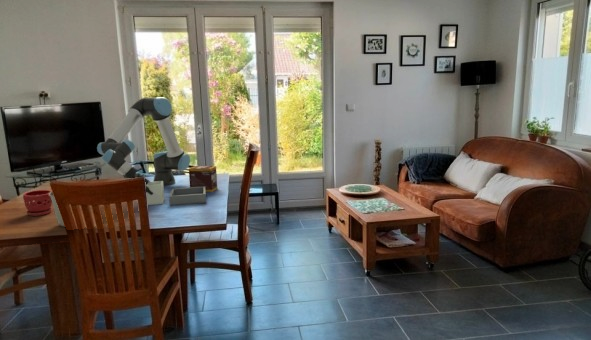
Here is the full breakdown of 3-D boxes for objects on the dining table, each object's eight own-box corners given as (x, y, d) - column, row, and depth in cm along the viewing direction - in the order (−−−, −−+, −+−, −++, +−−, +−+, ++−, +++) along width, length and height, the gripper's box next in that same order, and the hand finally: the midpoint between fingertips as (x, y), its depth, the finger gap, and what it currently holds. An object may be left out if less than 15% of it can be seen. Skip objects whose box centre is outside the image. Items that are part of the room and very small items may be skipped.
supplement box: (212, 192, 254) (210, 168, 251) (189, 191, 256) (188, 168, 254) (217, 188, 264) (216, 165, 261) (196, 188, 266) (194, 165, 264)
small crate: (145, 200, 235) (143, 182, 233) (164, 199, 238) (163, 180, 235) (142, 205, 225) (140, 186, 222) (162, 204, 227) (161, 184, 225)
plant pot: (22, 218, 205) (18, 196, 202) (31, 211, 217) (28, 190, 215) (50, 215, 208) (47, 194, 206) (57, 209, 221) (54, 188, 218)
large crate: (172, 197, 242) (172, 188, 241) (205, 195, 246) (205, 186, 245) (170, 205, 223) (169, 196, 222) (206, 203, 227) (205, 193, 226)
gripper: (127, 172, 236) (156, 195, 242) (119, 179, 213) (151, 204, 220) (135, 163, 236) (164, 186, 242) (128, 169, 214) (160, 195, 220)
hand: (158, 195), depth 231 cm, fingers closed on small crate, 11 cm apart
